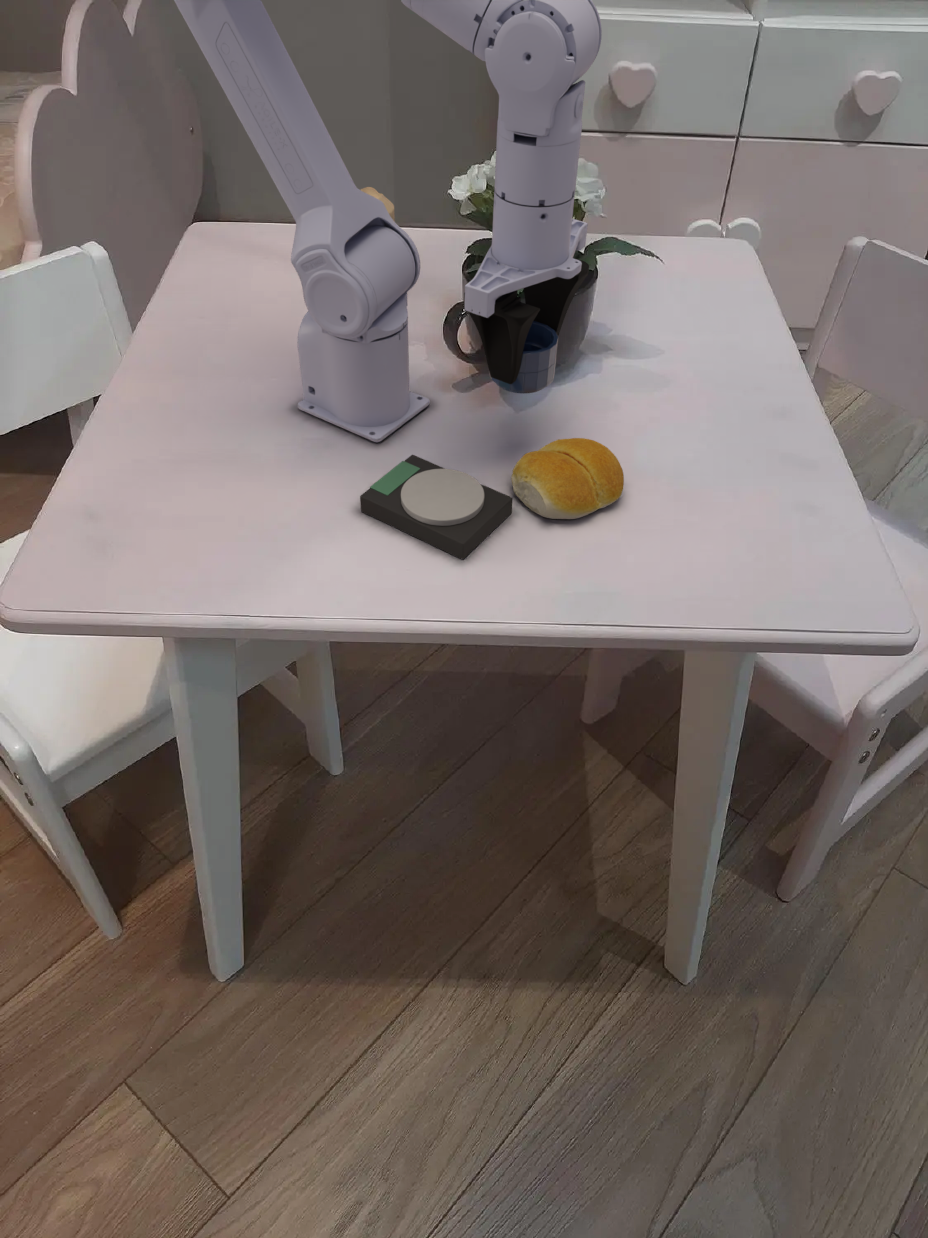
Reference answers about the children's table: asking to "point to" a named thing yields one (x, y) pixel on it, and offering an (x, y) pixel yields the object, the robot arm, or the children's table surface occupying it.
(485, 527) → the scale
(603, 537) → the children's table surface
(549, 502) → the bread roll
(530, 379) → the cup
